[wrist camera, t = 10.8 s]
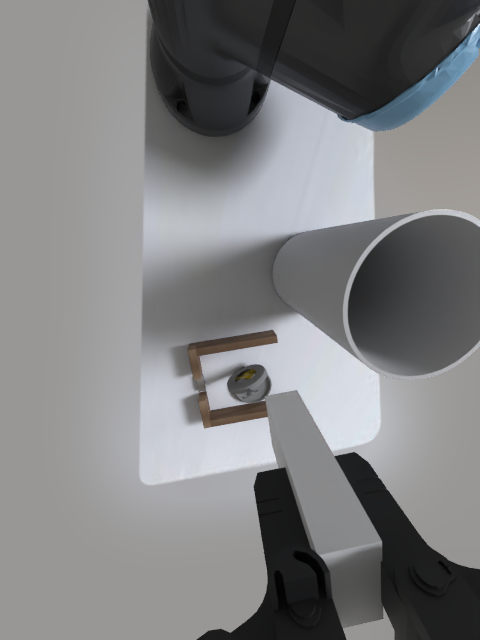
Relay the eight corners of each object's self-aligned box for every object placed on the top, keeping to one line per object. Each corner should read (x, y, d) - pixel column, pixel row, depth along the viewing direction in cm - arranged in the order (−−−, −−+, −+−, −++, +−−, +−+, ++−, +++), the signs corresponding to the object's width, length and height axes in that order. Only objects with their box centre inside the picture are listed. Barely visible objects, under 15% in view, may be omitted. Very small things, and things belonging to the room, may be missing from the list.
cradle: (189, 343, 45) (187, 350, 42) (272, 330, 46) (276, 335, 43) (204, 417, 49) (204, 428, 46) (281, 403, 49) (285, 413, 47)
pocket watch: (256, 406, 49) (267, 444, 39) (217, 385, 47) (218, 420, 38) (282, 370, 48) (299, 401, 38) (242, 347, 46) (250, 374, 36)
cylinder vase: (260, 249, 42) (321, 252, 18) (334, 218, 42) (498, 179, 18) (285, 320, 45) (366, 403, 21) (354, 292, 45) (515, 343, 21)
